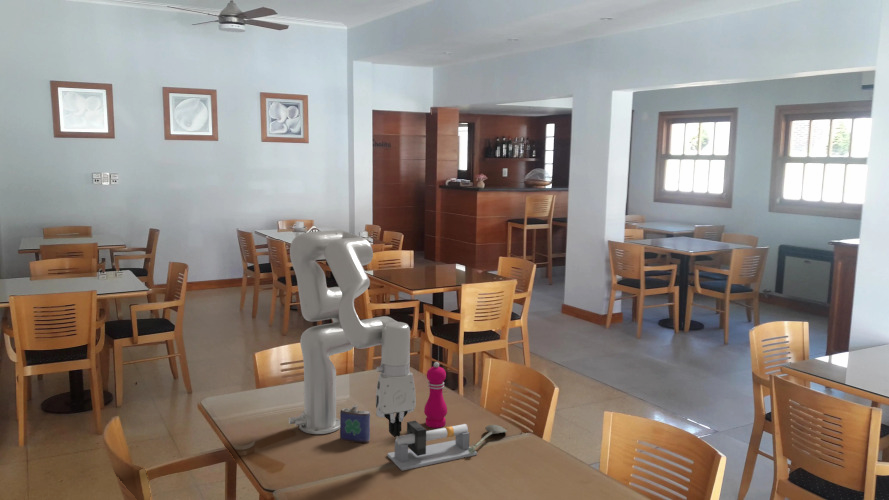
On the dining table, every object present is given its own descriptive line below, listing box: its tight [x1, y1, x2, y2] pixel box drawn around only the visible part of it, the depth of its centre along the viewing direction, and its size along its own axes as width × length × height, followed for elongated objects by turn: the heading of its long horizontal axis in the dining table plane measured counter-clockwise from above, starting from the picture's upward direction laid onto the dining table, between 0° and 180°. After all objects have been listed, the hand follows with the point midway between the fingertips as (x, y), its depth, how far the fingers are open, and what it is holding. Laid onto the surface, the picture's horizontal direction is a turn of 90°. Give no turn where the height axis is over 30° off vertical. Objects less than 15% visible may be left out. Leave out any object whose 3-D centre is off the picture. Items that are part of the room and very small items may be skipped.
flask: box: [339, 404, 371, 444], centre depth 197 cm, size 9×3×11 cm, turn 74°
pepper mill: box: [423, 361, 448, 429], centre depth 209 cm, size 7×7×20 cm
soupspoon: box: [468, 424, 508, 453], centre depth 197 cm, size 22×3×7 cm
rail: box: [386, 423, 478, 471], centre depth 187 cm, size 23×10×7 cm, turn 117°
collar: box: [406, 420, 427, 456], centre depth 185 cm, size 2×7×7 cm, turn 27°
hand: (395, 434), depth 182 cm, fingers closed
